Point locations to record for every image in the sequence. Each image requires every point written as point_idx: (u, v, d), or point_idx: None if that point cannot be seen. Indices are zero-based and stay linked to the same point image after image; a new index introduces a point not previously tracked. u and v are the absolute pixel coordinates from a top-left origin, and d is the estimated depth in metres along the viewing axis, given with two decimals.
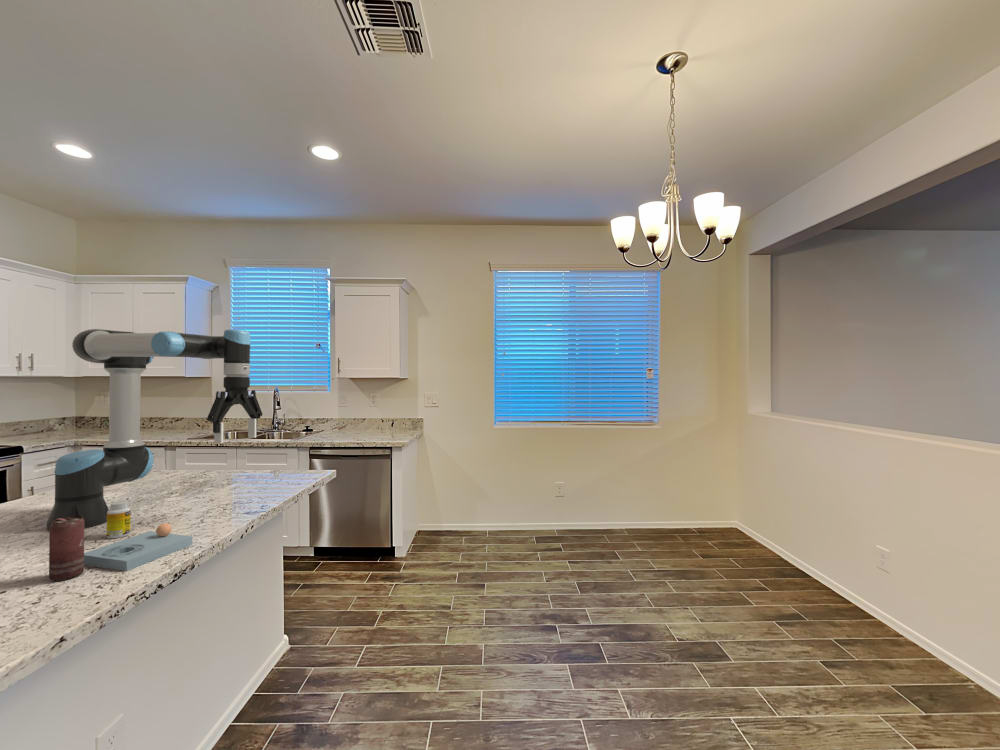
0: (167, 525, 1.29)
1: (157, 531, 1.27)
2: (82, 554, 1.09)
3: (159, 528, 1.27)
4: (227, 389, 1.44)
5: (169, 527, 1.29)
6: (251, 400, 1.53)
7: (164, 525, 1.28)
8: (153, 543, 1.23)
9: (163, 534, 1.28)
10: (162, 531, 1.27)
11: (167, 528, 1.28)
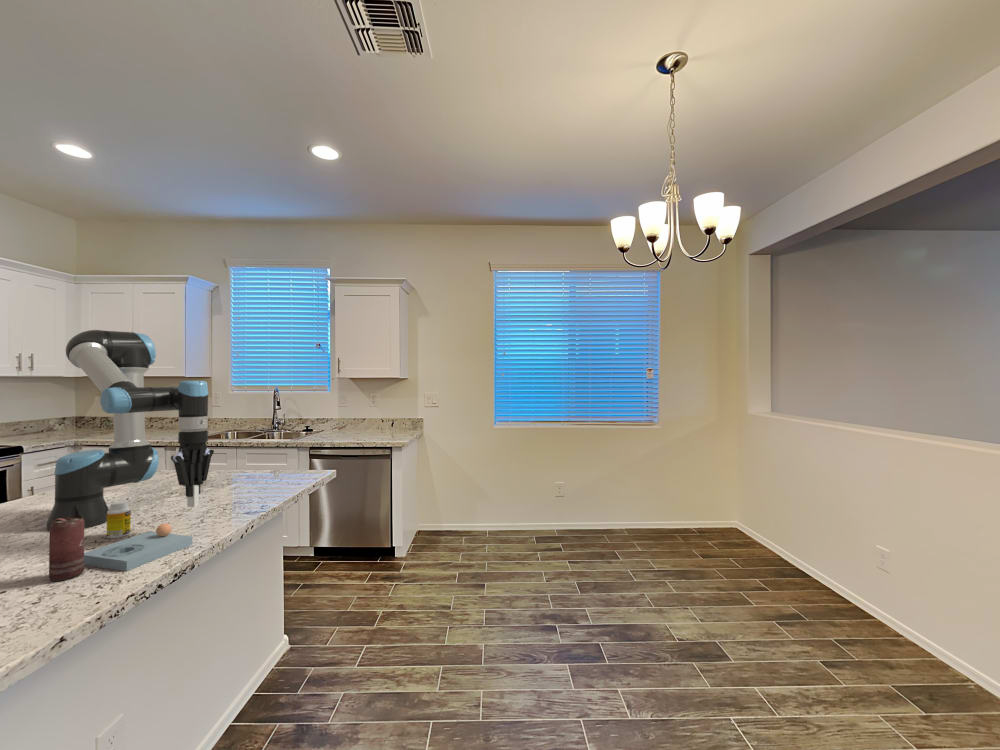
0: (167, 525, 1.29)
1: (157, 531, 1.27)
2: (82, 554, 1.09)
3: (159, 528, 1.27)
4: (182, 445, 1.34)
5: (169, 527, 1.29)
6: (204, 459, 1.41)
7: (164, 525, 1.28)
8: (153, 543, 1.23)
9: (163, 534, 1.28)
10: (162, 531, 1.27)
11: (167, 528, 1.28)
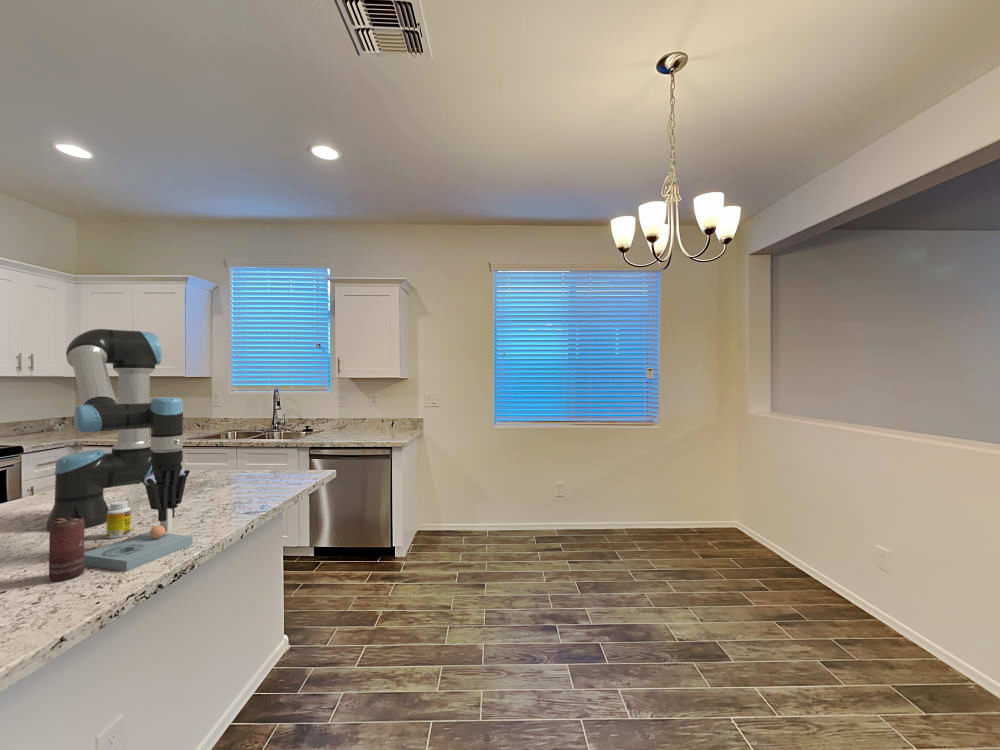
0: (157, 530, 1.26)
1: None
2: (82, 554, 1.09)
3: (152, 536, 1.25)
4: (154, 467, 1.26)
5: (160, 530, 1.26)
6: (179, 481, 1.33)
7: (154, 532, 1.25)
8: (153, 543, 1.23)
9: None
10: (157, 537, 1.26)
11: (160, 533, 1.26)
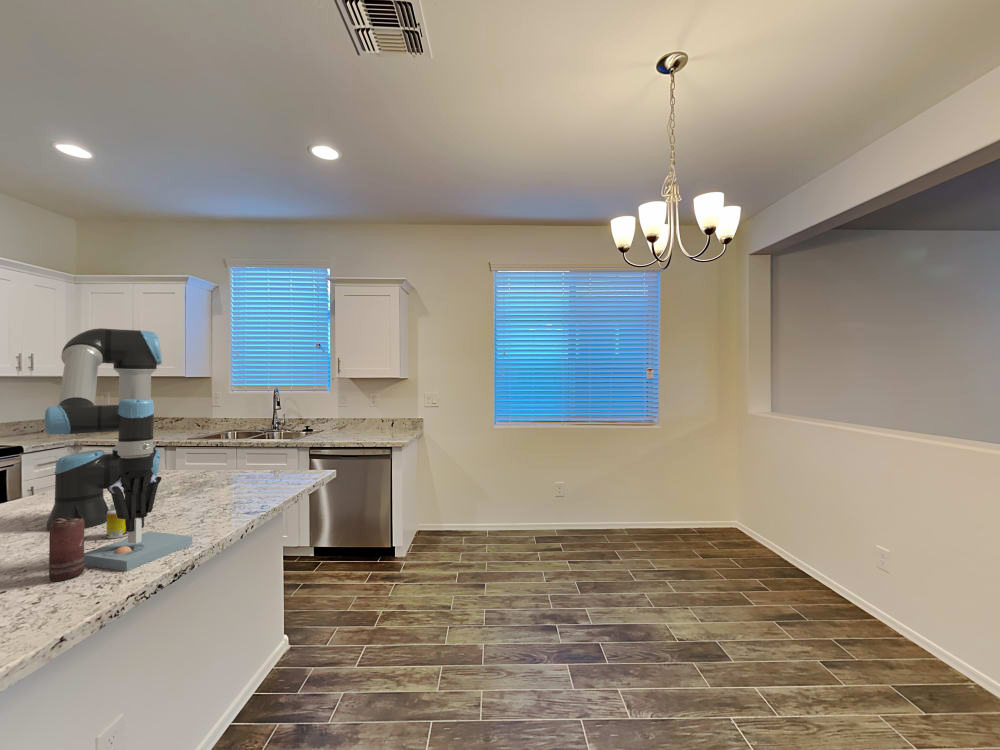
0: (125, 549, 1.17)
1: None
2: (82, 554, 1.09)
3: None
4: (121, 474, 1.17)
5: (128, 551, 1.18)
6: (149, 488, 1.25)
7: (121, 550, 1.17)
8: (153, 543, 1.23)
9: None
10: None
11: None
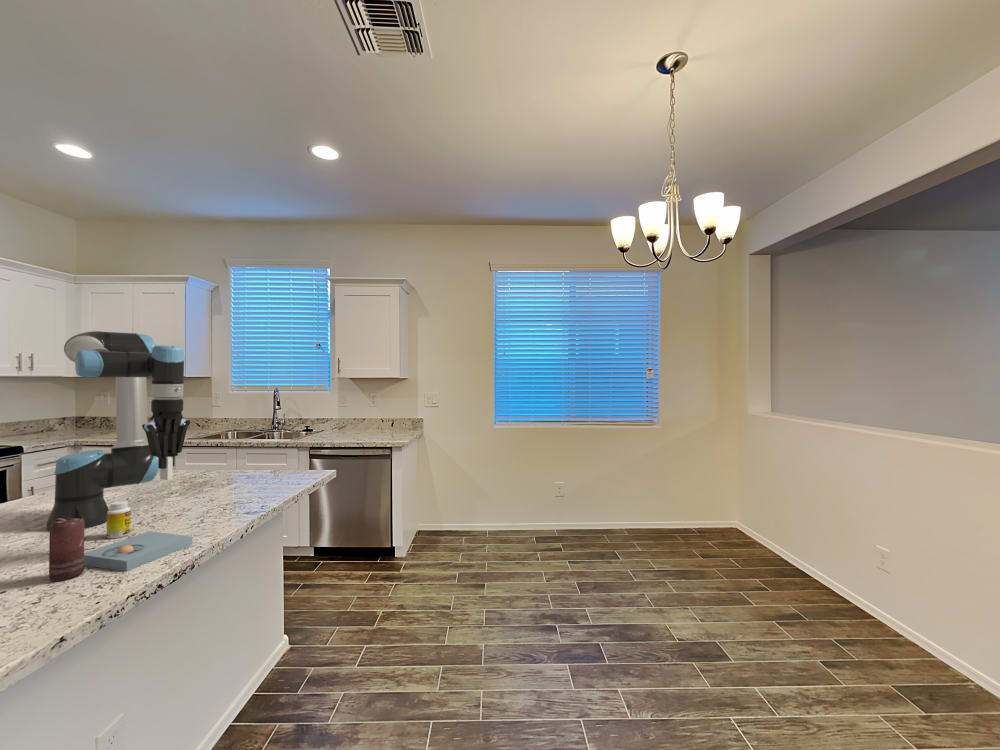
0: (129, 547, 1.19)
1: (118, 553, 1.17)
2: (82, 554, 1.09)
3: (120, 550, 1.17)
4: (154, 414, 1.26)
5: (131, 550, 1.19)
6: (179, 430, 1.33)
7: (126, 547, 1.18)
8: (153, 543, 1.23)
9: None
10: None
11: (128, 551, 1.18)
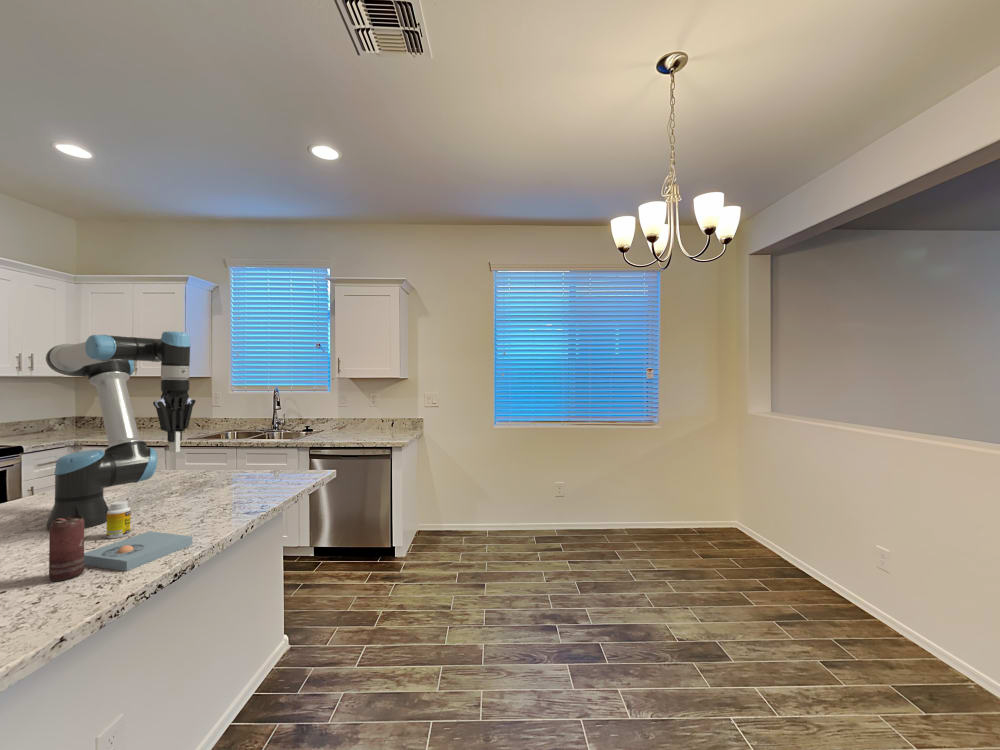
0: (129, 547, 1.18)
1: (117, 553, 1.17)
2: (82, 554, 1.09)
3: (120, 550, 1.17)
4: (164, 392, 1.41)
5: (131, 550, 1.19)
6: (186, 408, 1.48)
7: (126, 547, 1.18)
8: (153, 543, 1.23)
9: None
10: None
11: (128, 551, 1.18)
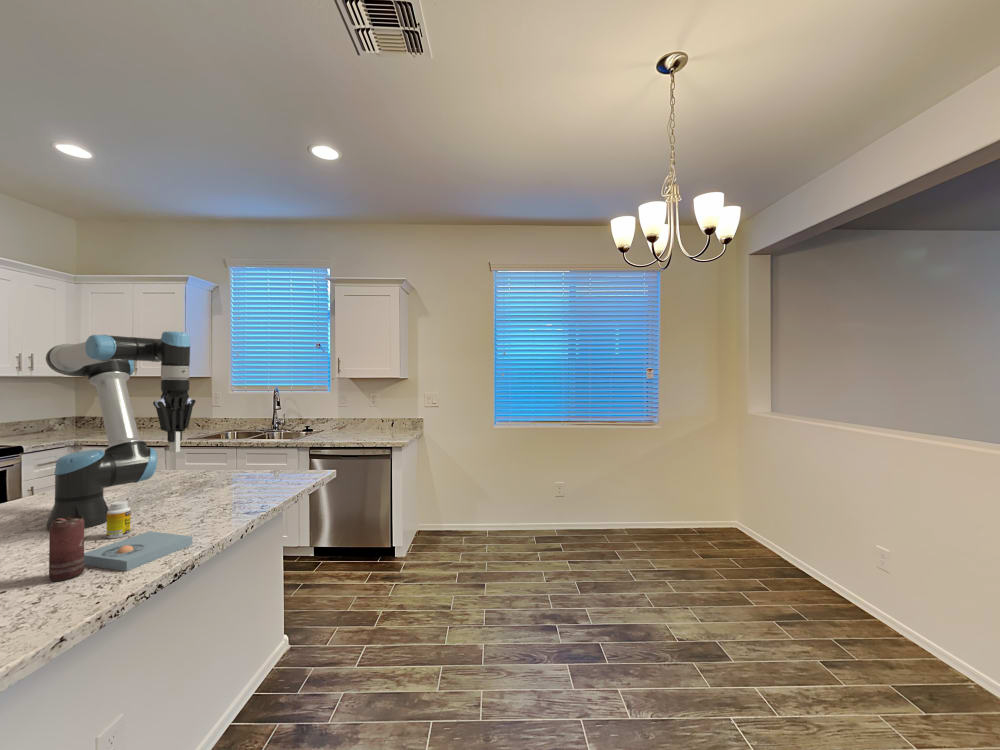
0: (129, 547, 1.18)
1: None
2: (82, 554, 1.09)
3: (120, 550, 1.17)
4: (164, 392, 1.41)
5: (131, 550, 1.19)
6: (186, 408, 1.48)
7: (126, 547, 1.18)
8: (153, 543, 1.23)
9: None
10: None
11: (128, 551, 1.18)
